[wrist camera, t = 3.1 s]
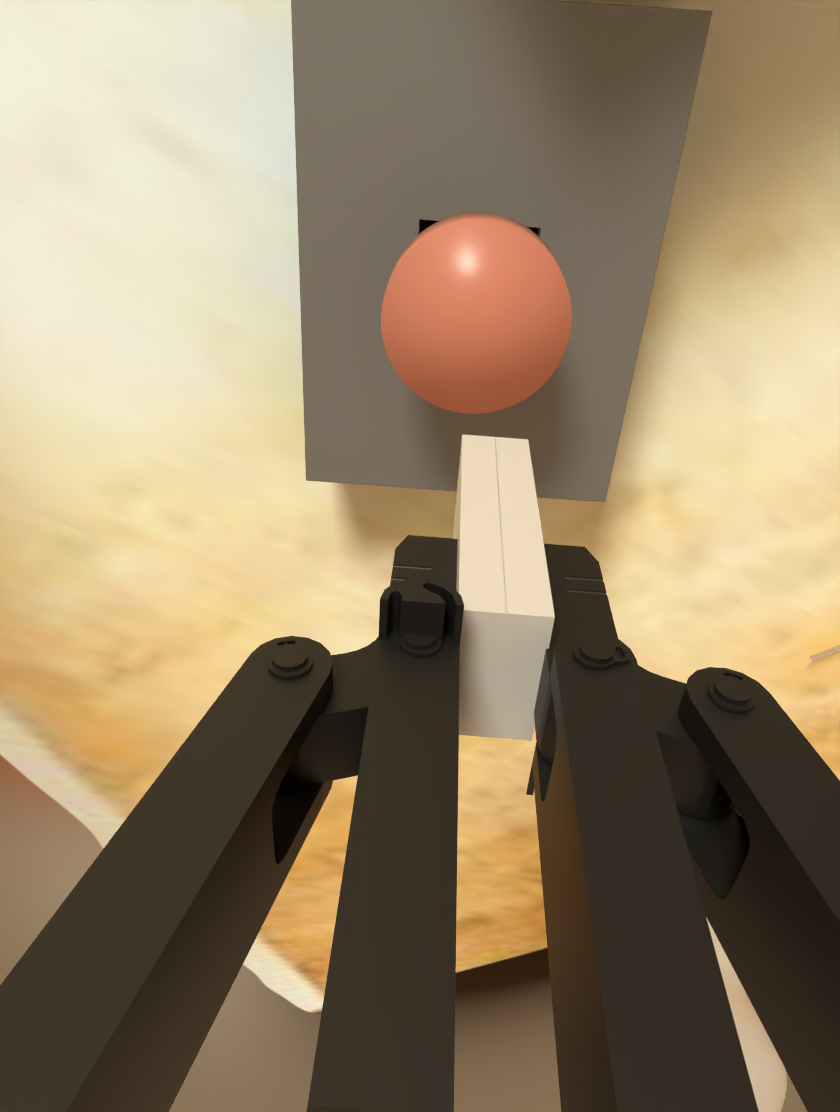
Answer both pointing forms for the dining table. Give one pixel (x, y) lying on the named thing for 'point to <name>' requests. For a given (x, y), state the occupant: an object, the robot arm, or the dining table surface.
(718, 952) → the fruit juice
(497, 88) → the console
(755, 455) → the dining table surface
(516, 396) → the button
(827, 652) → the beige flat rectangular pieces
